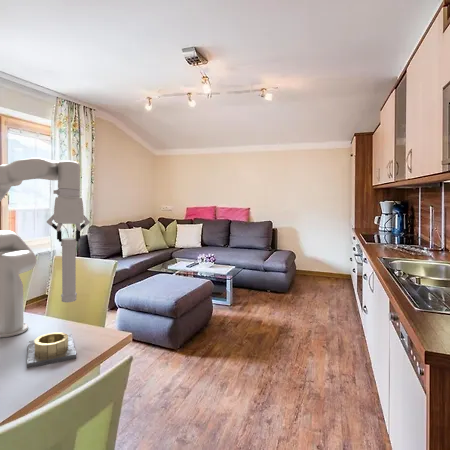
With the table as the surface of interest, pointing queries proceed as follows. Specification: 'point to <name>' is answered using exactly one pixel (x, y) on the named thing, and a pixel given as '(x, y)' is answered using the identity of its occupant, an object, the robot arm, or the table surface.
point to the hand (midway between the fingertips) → (68, 240)
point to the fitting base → (50, 349)
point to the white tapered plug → (68, 269)
